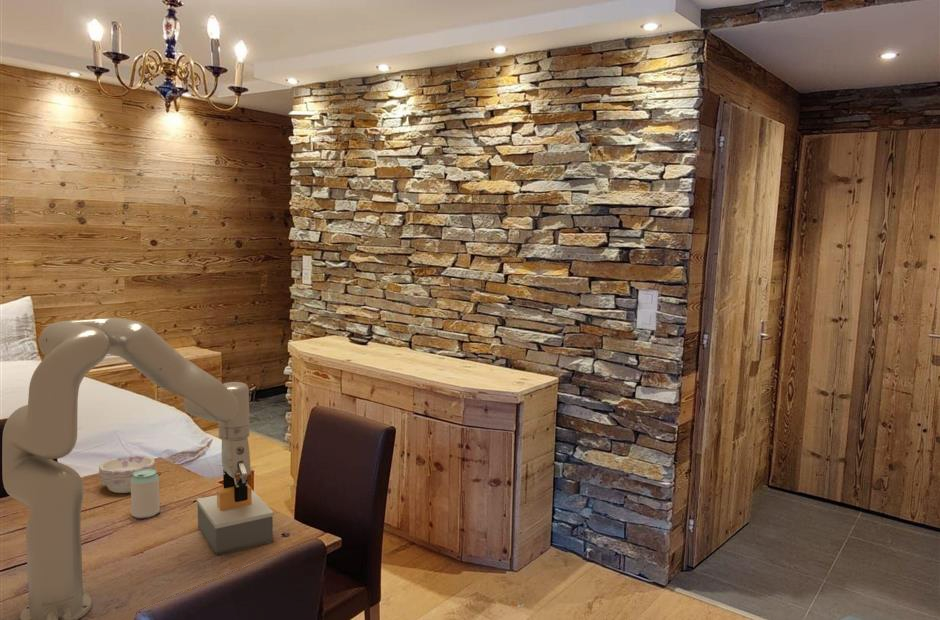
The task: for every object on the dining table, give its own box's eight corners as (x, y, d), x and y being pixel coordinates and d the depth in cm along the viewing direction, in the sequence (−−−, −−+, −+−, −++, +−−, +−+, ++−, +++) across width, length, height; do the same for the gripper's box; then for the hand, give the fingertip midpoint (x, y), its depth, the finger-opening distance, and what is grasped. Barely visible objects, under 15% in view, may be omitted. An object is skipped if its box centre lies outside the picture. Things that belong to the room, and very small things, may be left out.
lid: (273, 519, 173) (273, 495, 172) (215, 532, 165) (215, 507, 164) (251, 495, 188) (250, 472, 187) (196, 506, 180) (196, 482, 179)
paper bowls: (148, 475, 216) (147, 451, 215) (161, 490, 205) (161, 464, 204) (94, 485, 206) (93, 460, 206) (105, 501, 195) (104, 475, 194)
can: (159, 517, 186) (158, 475, 184) (130, 521, 183) (129, 478, 182) (160, 507, 192) (159, 467, 191) (132, 510, 189) (131, 469, 188)
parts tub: (272, 541, 174) (272, 515, 173) (216, 555, 166) (216, 528, 165) (250, 516, 188) (250, 492, 188) (198, 527, 180) (197, 502, 179)
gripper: (259, 437, 169) (260, 502, 171) (238, 419, 183) (240, 480, 185) (228, 442, 165) (230, 509, 167) (210, 424, 179) (211, 486, 181)
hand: (235, 494), depth 176 cm, fingers open, 9 cm apart
